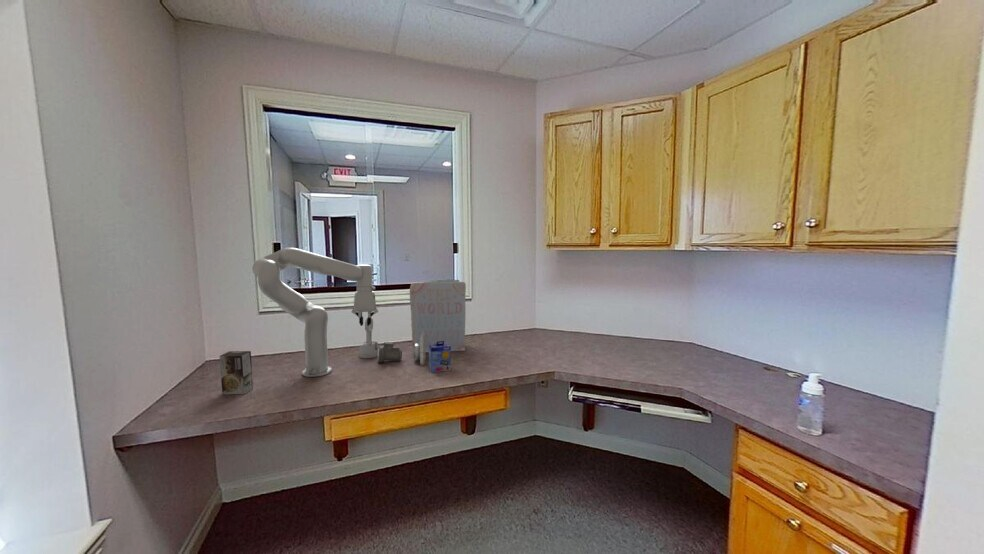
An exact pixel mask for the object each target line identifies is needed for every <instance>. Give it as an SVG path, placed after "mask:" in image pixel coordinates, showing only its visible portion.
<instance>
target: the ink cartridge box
mask: <svg viewBox="0 0 984 554" xmlns="http://www.w3.org/2000/svg"><path fill="white" fill-rule="evenodd" d="M440 342H442V343H440ZM438 343H440V344H438ZM451 352H452V351H451V346H450V345H449V344H448V343H445V344H444V341H439V342H437V344H433V345H429V352H428V356H429V357H428V369H429V372H430V373H438V372H447V371H451V356H452V355H451V354H452V353H451Z"/></svg>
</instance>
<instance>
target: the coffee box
mask: <svg viewBox="0 0 984 554" xmlns="http://www.w3.org/2000/svg"><path fill="white" fill-rule="evenodd" d="M218 357H219V366H220V380H221V394H222V395H245V394H247V393H248V392H250V391H252V390H253V389H254V383H253V381H254V380H253V369H252V368H253V366H252V351H251V350H245V351H244V350H241V351H239V350H235V351H234V350H233V351H232V350H231V351H230V350H229V351H227V352H224V353H223V354H220V355H219V356H218Z"/></svg>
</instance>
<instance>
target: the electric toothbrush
mask: <svg viewBox="0 0 984 554" xmlns="http://www.w3.org/2000/svg"><path fill="white" fill-rule="evenodd" d="M373 329H374V319H373V318H372V317H371V324H370V325H369V326H368V325H367V318H365V322H364V330H365V332H366V333H365V334H366V340H365V341H364V342H363V344H361V345H359V349H358V351H359V352H358V353H359V355H358V356H359V357H360V358H363V359H371V358H376V357H378V351H379V343H378V341H374V340H372V339H373V338H372V336H373V335H372V334H373V332H372V331H373Z"/></svg>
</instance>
